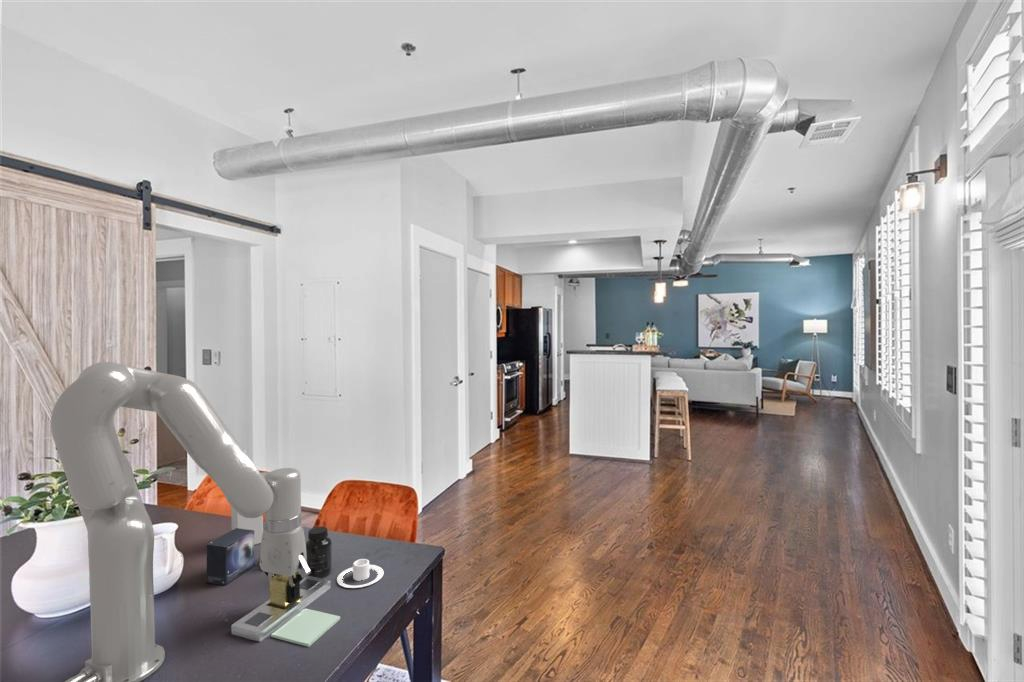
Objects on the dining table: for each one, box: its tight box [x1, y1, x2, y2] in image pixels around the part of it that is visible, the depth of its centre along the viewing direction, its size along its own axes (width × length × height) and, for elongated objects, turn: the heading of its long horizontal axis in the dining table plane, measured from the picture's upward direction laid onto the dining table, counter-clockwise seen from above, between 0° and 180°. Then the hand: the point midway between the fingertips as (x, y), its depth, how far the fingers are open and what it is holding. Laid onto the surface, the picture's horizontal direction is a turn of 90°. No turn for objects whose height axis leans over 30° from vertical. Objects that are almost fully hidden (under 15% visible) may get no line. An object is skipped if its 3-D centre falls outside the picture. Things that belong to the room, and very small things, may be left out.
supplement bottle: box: [305, 526, 333, 579], centre depth 129 cm, size 7×7×12 cm
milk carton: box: [230, 505, 264, 546], centre depth 147 cm, size 7×7×19 cm
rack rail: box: [230, 576, 331, 642], centre depth 113 cm, size 22×8×2 cm, turn 161°
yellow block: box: [269, 574, 300, 610], centre depth 113 cm, size 4×4×8 cm
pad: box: [270, 607, 341, 648], centre depth 106 cm, size 10×10×1 cm
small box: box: [206, 528, 255, 586], centre depth 128 cm, size 11×6×10 cm, turn 168°
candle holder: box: [336, 558, 385, 589], centre depth 127 cm, size 12×12×4 cm
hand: (285, 597), depth 113 cm, fingers closed on yellow block, 4 cm apart
